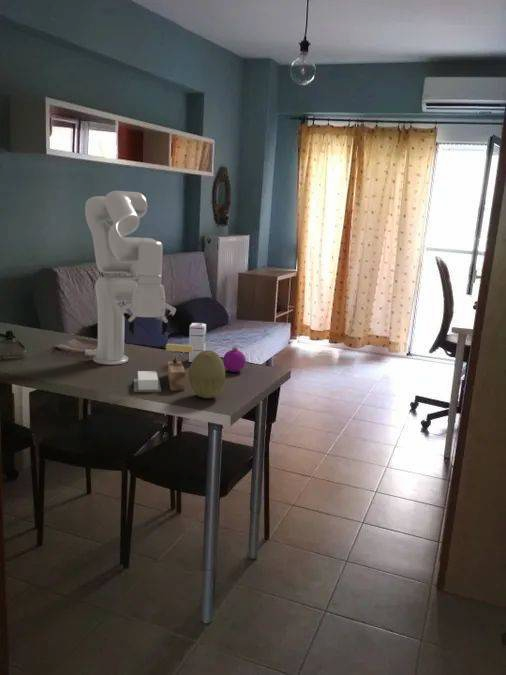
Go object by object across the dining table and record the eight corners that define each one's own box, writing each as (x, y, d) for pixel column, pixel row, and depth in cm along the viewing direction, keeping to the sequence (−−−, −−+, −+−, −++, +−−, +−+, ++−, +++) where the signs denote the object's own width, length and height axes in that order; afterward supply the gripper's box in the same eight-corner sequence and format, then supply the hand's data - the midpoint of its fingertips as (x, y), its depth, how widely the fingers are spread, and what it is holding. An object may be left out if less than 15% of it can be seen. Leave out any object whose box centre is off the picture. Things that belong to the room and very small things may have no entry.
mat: (133, 391, 185) (134, 390, 185) (133, 380, 197) (133, 379, 196) (161, 391, 187) (161, 390, 187) (159, 380, 198) (159, 379, 198)
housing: (170, 390, 189) (171, 372, 188) (167, 375, 206) (168, 358, 204) (184, 390, 190) (185, 372, 188) (180, 375, 206) (180, 358, 205)
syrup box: (203, 363, 223) (205, 326, 220) (188, 362, 223) (189, 325, 220) (205, 360, 229) (206, 323, 226) (190, 359, 229) (191, 322, 226)
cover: (138, 389, 186) (138, 379, 185) (137, 380, 195) (137, 371, 195) (157, 389, 187) (158, 379, 186) (156, 380, 197) (156, 371, 196)
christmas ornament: (222, 368, 219) (223, 341, 217) (244, 368, 220) (245, 342, 218) (222, 374, 211) (224, 347, 209) (245, 375, 212) (247, 347, 210)
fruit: (181, 398, 181) (183, 351, 178) (197, 389, 192) (199, 344, 188) (215, 405, 177) (217, 356, 174) (230, 395, 188) (232, 349, 185)
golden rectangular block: (191, 365, 200) (192, 346, 199) (165, 362, 201) (166, 344, 200) (192, 363, 202) (193, 345, 201) (167, 361, 203) (167, 343, 202)
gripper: (120, 281, 179) (119, 335, 183) (178, 283, 183) (175, 337, 187) (121, 277, 186) (120, 330, 190) (176, 279, 190) (174, 331, 194)
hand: (147, 333), depth 188 cm, fingers open, 9 cm apart
